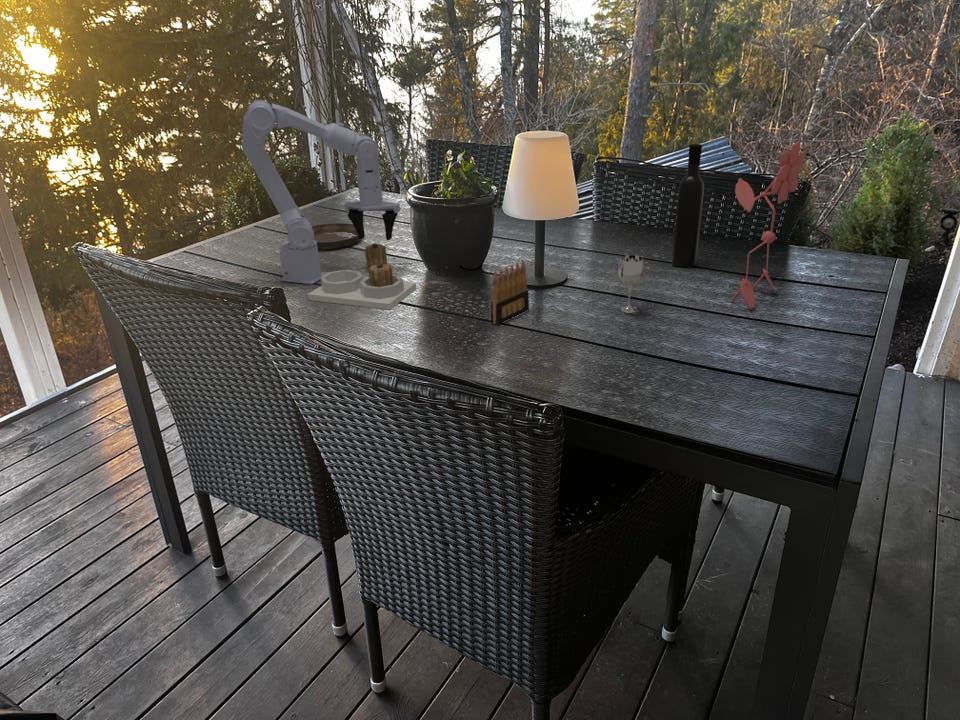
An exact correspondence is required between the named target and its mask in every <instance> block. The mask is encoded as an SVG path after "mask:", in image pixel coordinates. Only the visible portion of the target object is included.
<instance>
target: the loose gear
mask: <svg viewBox="0 0 960 720" xmlns="http://www.w3.org/2000/svg"><path fill="white" fill-rule="evenodd" d="M364 247H365V248H364V252H365V253H364V255H365V262H366V269H367V270H368V269H369V268H371V266H373V265H376V264H387V265H388V261H387V260H388V258H387V250H386V249H387V248H386V245H383V244H381V243H380V244H379V243H373V244H370V245H367V246H364Z"/></svg>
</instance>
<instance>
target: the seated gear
mask: <svg viewBox="0 0 960 720" xmlns="http://www.w3.org/2000/svg"><path fill="white" fill-rule="evenodd" d="M367 270H368V276H369V278H370V286H374V287H383V286H388V285H393V276H392V274H393V266H391V265H390V264H388V263H387V264H376V265H373V266H371V268H369V269H367Z"/></svg>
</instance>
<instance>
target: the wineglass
mask: <svg viewBox="0 0 960 720" xmlns="http://www.w3.org/2000/svg"><path fill="white" fill-rule="evenodd" d="M619 259H620V260H619V263H618V267H617V276H616V277H617V280H618V281H619V283H620V285H622V286H624V287H627V304H626V305H623V306H624V307H622V306H621V307H622V308H621V310H622V312H623V311H624V312H626V313H632V312H635V311H637V309H636V308H637V307H636V306H633V305H631V296H632V293H633V289H632V288H635V287H637V286H639V285H641V284H642V283H643V281H644V278H645V273H646V272H645V270H646V269H645V263H644V258H643V257H642V256H640V255H636V254H628V255H623V256H621V257H620V258H619ZM632 306H633V307H632ZM635 307H636V308H635Z"/></svg>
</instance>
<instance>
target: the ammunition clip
mask: <svg viewBox="0 0 960 720" xmlns="http://www.w3.org/2000/svg"><path fill="white" fill-rule="evenodd" d="M526 270H527V269H526V263H525V261H524V260H522V261H521V263H520V264H519V262H517V263H516V264H515V268H514V265H513V264H511V265H510V267H509V268H508V266H506V267H505V268H504V271H503V269H502V268H500V269H499V272H498V273H497V271H494V272H493V277H492V291H491V296H492V298H491V299H492V301H490V323H493V324H492V325H494V324H495V325H494V326H497V325H498V326H500V325H501V324H500V323H502V322H504V321H506V320H508V319H511V318H512V317H515V316H517V315H519V314H521V313H523V312H525V311H527V310H529V311H530V305H529V304H530V301H529V300H530V299H529V290H528V285H527V284H528V281H527V280H528V279H527V273H526ZM523 314H524V313H523ZM521 315H522V314H521ZM519 316H520V315H519ZM517 317H518V316H517ZM515 318H516V317H515ZM511 320H512V319H511ZM506 322H507V321H506ZM504 323H505V322H504ZM499 324H500V325H499ZM502 324H503V323H502Z"/></svg>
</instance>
